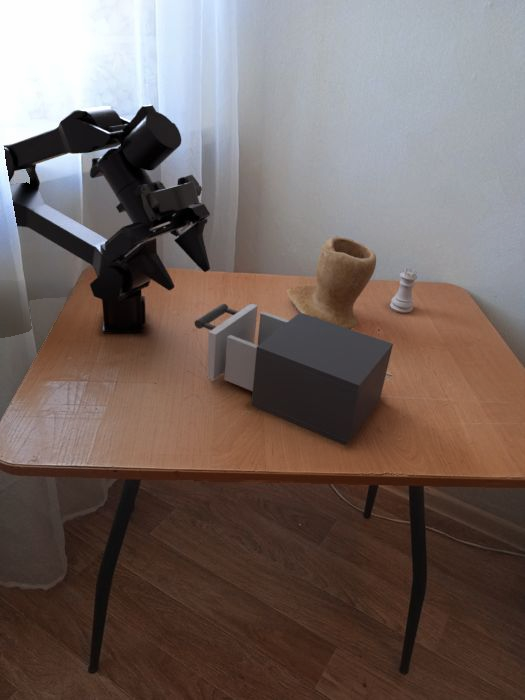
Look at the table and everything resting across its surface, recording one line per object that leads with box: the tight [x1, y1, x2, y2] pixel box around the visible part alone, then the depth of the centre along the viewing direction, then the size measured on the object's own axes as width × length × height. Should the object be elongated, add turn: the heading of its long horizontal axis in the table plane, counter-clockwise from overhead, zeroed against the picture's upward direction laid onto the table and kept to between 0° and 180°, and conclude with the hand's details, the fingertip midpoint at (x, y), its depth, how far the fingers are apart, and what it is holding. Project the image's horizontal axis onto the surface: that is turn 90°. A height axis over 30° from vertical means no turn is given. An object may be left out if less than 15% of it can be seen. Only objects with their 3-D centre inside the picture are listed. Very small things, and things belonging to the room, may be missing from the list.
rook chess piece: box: [389, 268, 418, 314], centre depth 108 cm, size 4×4×8 cm
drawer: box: [194, 303, 290, 392], centre depth 83 cm, size 18×12×8 cm, turn 60°
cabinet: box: [250, 312, 394, 446], centre depth 79 cm, size 15×13×10 cm
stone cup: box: [286, 236, 377, 330], centre depth 101 cm, size 15×12×15 cm
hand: (190, 279), depth 84 cm, fingers open, 9 cm apart
